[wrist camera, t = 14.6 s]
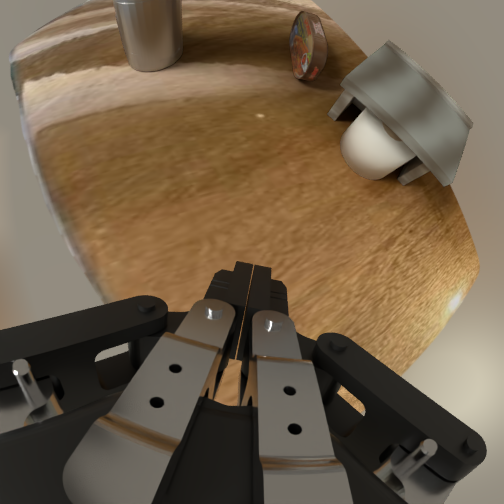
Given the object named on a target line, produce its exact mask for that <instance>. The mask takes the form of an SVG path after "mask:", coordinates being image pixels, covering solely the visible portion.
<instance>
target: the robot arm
mask: <svg viewBox="0 0 504 504" xmlns="http://www.w3.org/2000/svg"><path fill="white" fill-rule="evenodd" d="M113 3H114V7H115V12H116V20H117V24H118V28H119V32H120V36H121V40H122V44H123V48H124V51H125V54H126V55H127V59H128V62H129V65H130V66H131V67H132V68H134V69H135V70H138V71H144V72H148V71H157V70H160V69H163V68H166V67H168V66H170V65H172V64H173V63H175V62H176V61H177V60H178V59H179V58H180V57H181V55H182V53H183V38H182V0H113ZM252 268H253V264H249V263H244V262H239V261H237V262H236V265H235V268H234V271H228V270H223V269H222V270H220V271H219V272H217V273H215V275H214V277H213V279H212V281H211V284H210V286H209V288H208V290H207V292H206V294H205V297H204V299H202V300H199V301H197V302H196V303H195V304H194V305H193V306H192V308H191V309H190V311H188V312H168V306H167V304H166V303H165V302H164V301H163V300H162V299H160V298H157V297H154V296H148V295H142V296H136V297H132V298H128V299H124V300H120V301H116V302H113V303H109V304H105V305H101V306H97V307H93V308H89V309H85V310H81V311H77V312H73V313H69V314H65V315H61V316H57V317H53V318H49V319H45V320H41V321H37V322H33V323H28V324H24V325H20V326H16V327H12V328H8V329H3V330H0V504H444V502H445V500H446V499H447V497H448V496H449V494H450V492H451V491H452V489H453V487H454V486H455V484H456V483H457V482H459V481H460V480H461V479H462V478H464V477H465V476H466V475H467V474H469V473H470V472H471V471H472V470H473V469H475V468H476V467H477V466H478V465H479V464H481V463H482V462H483V461H484V459H485V457H486V452H487V450H486V445H485V442H484V440H483V439H482V437H481V436H480V435H479V434H478V433H477V432H475V431H474V430H473V429H471V428H470V427H468V426H467V425H466V424H464V423H463V422H461V421H460V420H459V419H457V418H456V417H455V416H453V415H452V414H451V413H449V412H448V411H446V410H445V409H444V408H442V407H441V406H440V405H438V404H437V403H435V402H434V401H433V400H431V399H430V398H429V397H427V396H426V395H425V394H423V393H422V392H421V391H419V390H418V389H416V388H415V387H414V386H412V385H411V384H410V383H408V382H407V381H405V380H404V379H403V378H402V377H400V376H399V375H398V374H396V373H395V372H394V371H392V370H391V369H390V368H388V367H387V366H386V365H384V364H383V363H382V362H380V361H379V360H377V359H376V358H375V357H373V356H372V355H371V354H369V353H368V352H367V351H365V350H364V349H363V348H361V347H360V346H359V345H357V344H356V343H355V342H354V341H352V340H351V339H349V338H348V337H346V336H344V335H341V334H338V333H324V334H321V335H320V336H319V337H318V339H317V341H315V340H313V339H310V338H307V337H305V336H302V335H301V334H299V333H297V332H296V329H295V325H294V322H293V321H292V320H291V318H289V314H288V301H287V288H286V286H285V285H284V284H283V283H282V281H278V280H273V279H271V268H269V267H264V266H259V265H255V266H254V270H253V275H252V280H251V285H250V279H251V274H252ZM249 285H250V289H249ZM248 290H249V294H248ZM247 296H248V299H247ZM246 301H247V304H246ZM245 307H246V309H245ZM244 311H245V315H244ZM243 316H244V320H243ZM242 321H243V326H242ZM241 326H242V331H241ZM240 331H241V337H240V342H239V348H238V353H237V359H236V360H240V361H242V365H241V370H240V374H239V382H238V403H237V406H227V405H223V404H221V403H219V402H216V401H215V399H216V396H217V393H218V391H219V388H220V385H221V382H222V379H223V376H224V372H225V368H226V367H227V365H228V361H229V358H230V359H235V355H236V350H237V345H238V340H239V336H240ZM124 343H128V348H129V351H127V352H124V353H121V354H118V355H116V356H113V357H109V358H107V359H103V360H100V361H97V362H95V357H96V356H97V354H98V353H100V352H101V351H103V350H106V349H109V348H112V347H116V346H119V345H122V344H124ZM341 385H342V386H343V387H344V388H346V389H347V390H348V391H349V392H350V393H351V394H353V395H354V396H355V397H356V398H357V399H358V400H360V401H361V402H362V403H363V405H364V407H365V411H366V413H365V416H363V415H362V414H360V413H359V412H358V411H357V410H356V409H355V408H353V407H352V406H351V405H350V404H349V403H348V402H346V401H345V400H344V399H343V398H342V397H341V396H340V395H339V394H337V392H338V390H339V388H340V387H341Z"/></svg>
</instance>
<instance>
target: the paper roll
mask: <svg viewBox="0 0 504 504" xmlns="http://www.w3.org/2000/svg"><path fill="white" fill-rule="evenodd" d="M340 149H341V153H342V156H343V158H344V160H345V162H346V163H347V164H348V166H349V167H350V168H351V169H352V170H353V171H354V172H355V173H356V174H358V175H359V176H361V177H363V178H366V179H369V180H378V179H381V178H383V177H384V176H386V175H388V174H389V173H391V172H392V171H394V170H395V169H397V168H398V167H400V166H401V165H403V164H405V163H406V162H408V161H409V160H411V159H412V158H414V157H415V156H416V154H415V153H414V152H413V151H412V150H411V149H410V148H409V147H408V146H407V145H406V144H405V143H404V142H403V141H402V140H401V139H400V138H399V137H398V136H397V135H396V134H395V133H394V132H393V131H392V130H391V129H390V128H389V127H388V126H387V125H386V124H385V123H384V122H383V121H382V120H381V119H380V118H378V117H377V116H376V115H375V114H374V113H373V112H372V111H371V110H370V109H368V108H367V107H366V108H365V109H364V110H363V112H362V113H361V114H360V115H359V116H358V117H357V118H356V119H355V121H354V122H353V123H352V124H351V125H350V126H349V127H348V129H347V130H346V131H345V132H344V133H343V135H342V137H341V140H340Z"/></svg>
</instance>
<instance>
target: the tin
mask: <svg viewBox="0 0 504 504" xmlns="http://www.w3.org/2000/svg"><path fill="white" fill-rule="evenodd" d="M289 43H290V52H291V58H292V66H293V73H294V76H295V77H296V78H297V79H304V80H308V81H314V80H316V78H317V77H318V76H319V74H320V73H321V71H322V69H323V68H324V66H325V64H326V61H327V56H328V44H327V40H326V37H325V33H324V30H323V27H322V24H321V21H320V18H319V17H318V16H317V15H315V14H311V13H308V12H305V11H301V12H300V13H299V14H298V15H297V16H296V18H295V20H294V23H293V26H292V29H291V33H290V40H289Z"/></svg>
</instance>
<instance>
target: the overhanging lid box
mask: <svg viewBox="0 0 504 504" xmlns="http://www.w3.org/2000/svg"><path fill="white" fill-rule="evenodd" d="M340 86H342V87H343V88H344V89H345V90H344V91H343V93H342V94H341V96H340V97H339V98H338V100H337V101H336V103H335V104H334V105H333V107H332V108H331V110H330V111H329V112H328V114H327V115H328V116H330V117H331V118H332V119H333V120H334V121H335V120H336V119H337V118H338V117H339V116H340V115H341V114H342V113H343V112H344V111H345V110H346V109H347V107H348V106H349V105H350V104H351V103H353V104H354V105H355V106H357V107H358V108H359V109H360V110H361V111H362V112H363V110H364V109H365V108H366V107H367V108H368V109H370V110H371V111H372V112H373V113H374V114H375V115H376V116H377V117H378V118H380V119H381V120H382V121H383V122H384V123H385V124H386V125H387V126H388V127H389V128H390V129H391V130H392V131H393V132H394V133H395V134H396V135H397V136H398V137H399V138H400V139H401V140H402V141H403V142H404V143H405V144H406V145H407V146H408V147H409V148H410V149H411V150H412V151H413V152H414V153H415V154H416V156H415V157H414V158H412V159H411V160H409V161H408V162H406V164H405V166H404V168H403V169H402V171H401V173H400V175H399V176H398V178H397V179H398V180H399V181H400V183H401V184H402V185H403V186H404V185H405V184H407V183H409V182H411V181H413V180H415V179H416V178H418V177H420V176H422V175H424V174H426V173H427V172H429V171H431V172H432V173H433V174H434V176H435V177H436V178H437V179H438V180H439V182H440V183H441V184H442V185H443V186H444V187H445V186H447V185H449V184H451V183H453V180H454V177H455V175H456V172H457V169H458V166H459V163H460V160H461V157H462V154H463V151H464V147H465V144H466V141H467V137H468V134H469V130H470V129H471V128H472V126H473V122H472V121H471V120H470V118H469V117H468V116H467V115H466V114H465V112H464V111H463V110H462V109H461V108H460V107H459V106H458V104H457V103H456V102H455V101H454V100H453V99H452V98H451V96H450V95H449V94H448V93H447V92H446V91H445V90H444V89H443V88H442V87H441V86H440V85H439V84H438V83H437V82H436V81H435V80H434V79H433V78H432V77H431V76H430V75H429V74H428V73H427V72H426V71H425V70H424V69H423V68H422V67H421V66H419V65H418V64H417V63H416V62H415V61H414V60H413V59H412V58H411V57H409V56H408V55H407V54H406V53H405V52H404V51H402V50H401V49H400V48H399V47H397V46H396V45H395V44H394V43H393V42H391V41H390V40H388V41H387V42H386V43H385V44H384V45H383V46H382V47H381V48H379V49H378V50H377V51H376V52H374V53H373V54H372V55H371V56H369V57H368V58H367V59H366V60H365V61H363V62H362V63H361V64H360V65H359V66H357V67H356V68H355V69H354V70H353V71H351V72H350V73H349V74H348V75H347V76H346V77H345V78H344V79H343V81H342V82H341V84H340Z"/></svg>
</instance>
